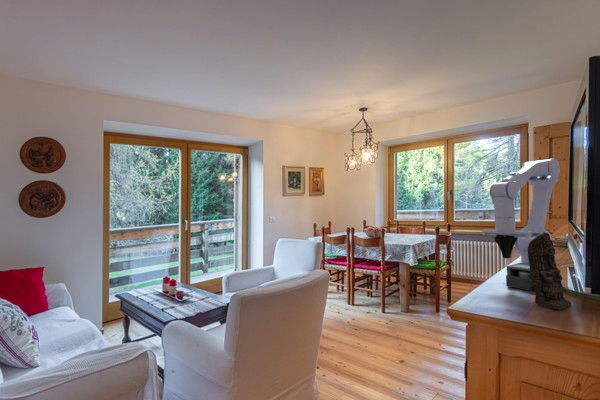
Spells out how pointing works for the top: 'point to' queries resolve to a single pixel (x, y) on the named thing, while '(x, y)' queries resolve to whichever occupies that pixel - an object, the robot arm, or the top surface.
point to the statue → (546, 273)
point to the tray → (519, 282)
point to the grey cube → (524, 274)
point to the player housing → (517, 268)
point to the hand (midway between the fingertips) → (506, 258)
